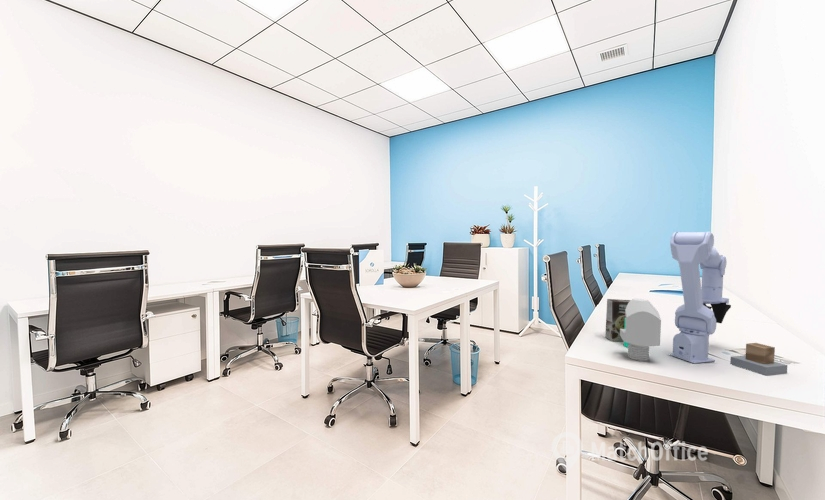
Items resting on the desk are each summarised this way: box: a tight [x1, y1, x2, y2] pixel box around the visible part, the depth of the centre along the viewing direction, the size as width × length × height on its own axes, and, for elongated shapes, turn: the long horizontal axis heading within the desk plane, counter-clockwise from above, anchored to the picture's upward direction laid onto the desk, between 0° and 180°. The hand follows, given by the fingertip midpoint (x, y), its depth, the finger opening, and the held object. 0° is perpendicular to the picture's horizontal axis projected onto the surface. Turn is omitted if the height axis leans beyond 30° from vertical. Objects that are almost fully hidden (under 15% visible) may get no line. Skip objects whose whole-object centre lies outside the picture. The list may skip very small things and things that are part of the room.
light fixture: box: [620, 298, 662, 362], centre depth 109 cm, size 9×9×20 cm
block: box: [745, 342, 776, 364], centre depth 101 cm, size 4×4×5 cm
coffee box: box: [604, 298, 632, 343], centre depth 129 cm, size 9×6×16 cm
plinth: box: [729, 354, 788, 376], centre depth 101 cm, size 9×9×2 cm
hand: (710, 323), depth 119 cm, fingers open, 7 cm apart
